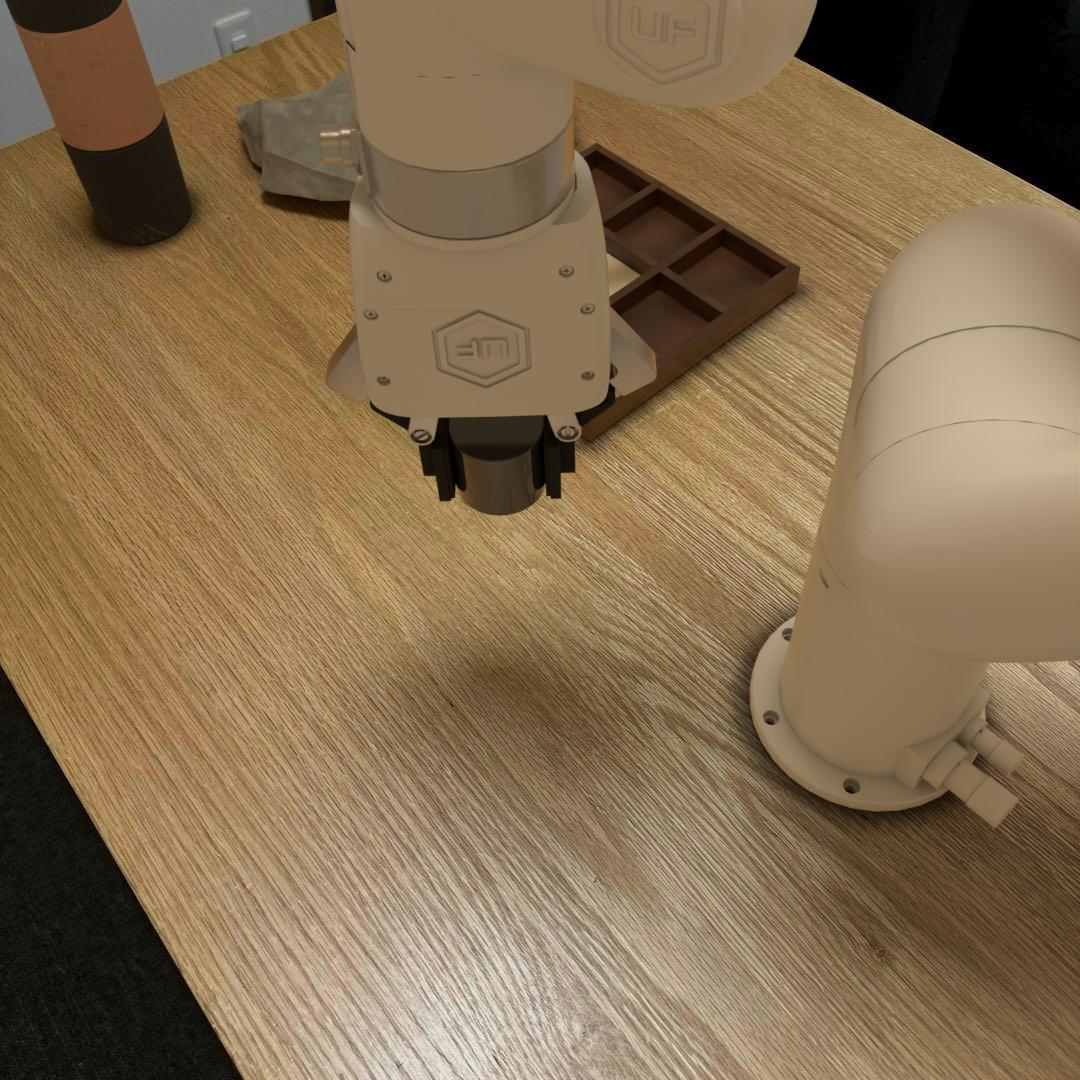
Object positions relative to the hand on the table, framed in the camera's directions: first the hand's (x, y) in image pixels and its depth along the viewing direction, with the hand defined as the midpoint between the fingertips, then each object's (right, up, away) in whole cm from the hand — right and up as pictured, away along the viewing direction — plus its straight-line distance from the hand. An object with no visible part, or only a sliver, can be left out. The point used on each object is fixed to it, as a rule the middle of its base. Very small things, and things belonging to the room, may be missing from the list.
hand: (501, 474), depth 57 cm
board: (+6, +15, +30) cm, 34 cm away
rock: (-9, +29, +41) cm, 51 cm away
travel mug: (-29, +22, +37) cm, 52 cm away
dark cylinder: (0, 0, 0) cm, 0 cm away
